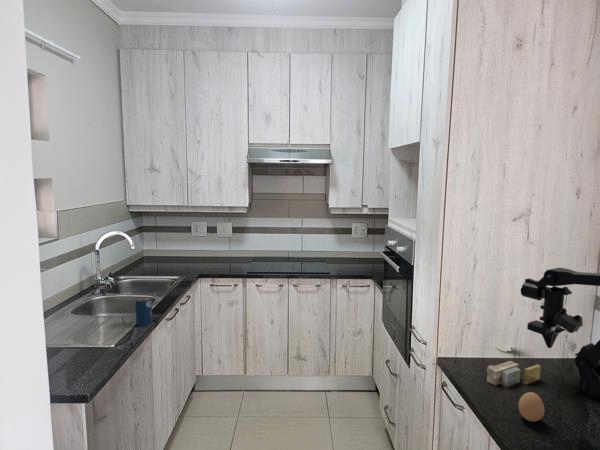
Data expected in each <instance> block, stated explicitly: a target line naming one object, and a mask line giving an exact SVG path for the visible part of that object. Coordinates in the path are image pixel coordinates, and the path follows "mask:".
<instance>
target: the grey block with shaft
mask: <svg viewBox="0 0 600 450" xmlns="http://www.w3.org/2000/svg"><path fill="white" fill-rule="evenodd" d="M493 366H494V365H493V364H489V365H488V366H487V368H486V372H487V374H488V368H489V367H493ZM521 372H522V371H521V368H519V367H518V368H516V367H514V368H511V369H508V370H505V371H502V378H501V383H500V385H501V386H503V387H505V388H509V387H510V386H514V385H516V384H518V383H519V384H520V379H521Z"/></svg>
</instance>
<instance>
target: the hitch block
mask: <svg viewBox="0 0 600 450" xmlns="http://www.w3.org/2000/svg"><path fill="white" fill-rule="evenodd" d="M519 365H520V364H519V363H516V362H515V361H512V360H509V361H506V362H503V363H499V364H496V365H492V366H493V367H489V368H488V373H487V376H486V377H487V379H486V382H487V383H490V384H491V385H493V386H497V385H501V378H502V371H505V370H508V369H511V368H514V367H516V368H518V369H519Z"/></svg>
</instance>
